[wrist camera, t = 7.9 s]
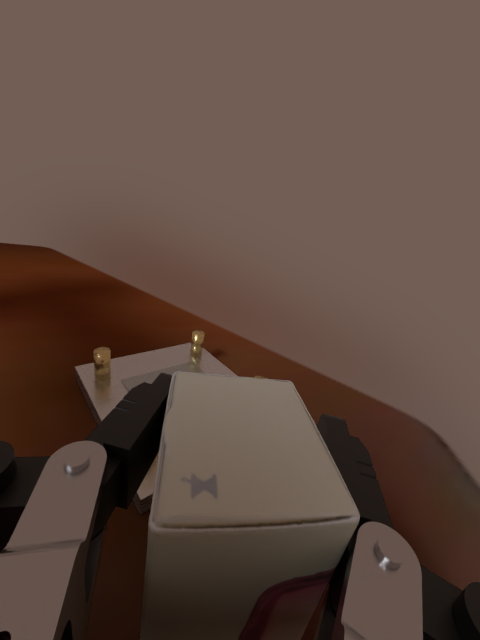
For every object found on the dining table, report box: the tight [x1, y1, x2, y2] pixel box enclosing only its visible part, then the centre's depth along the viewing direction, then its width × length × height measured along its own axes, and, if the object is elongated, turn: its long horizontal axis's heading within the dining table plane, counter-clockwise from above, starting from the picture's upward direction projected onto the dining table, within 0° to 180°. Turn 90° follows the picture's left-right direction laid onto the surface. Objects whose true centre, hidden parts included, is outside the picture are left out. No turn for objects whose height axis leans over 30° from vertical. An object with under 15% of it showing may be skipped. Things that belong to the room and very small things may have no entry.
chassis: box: [75, 330, 266, 515], centre depth 23 cm, size 14×12×4 cm
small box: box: [140, 371, 360, 640], centre depth 9 cm, size 5×4×8 cm
